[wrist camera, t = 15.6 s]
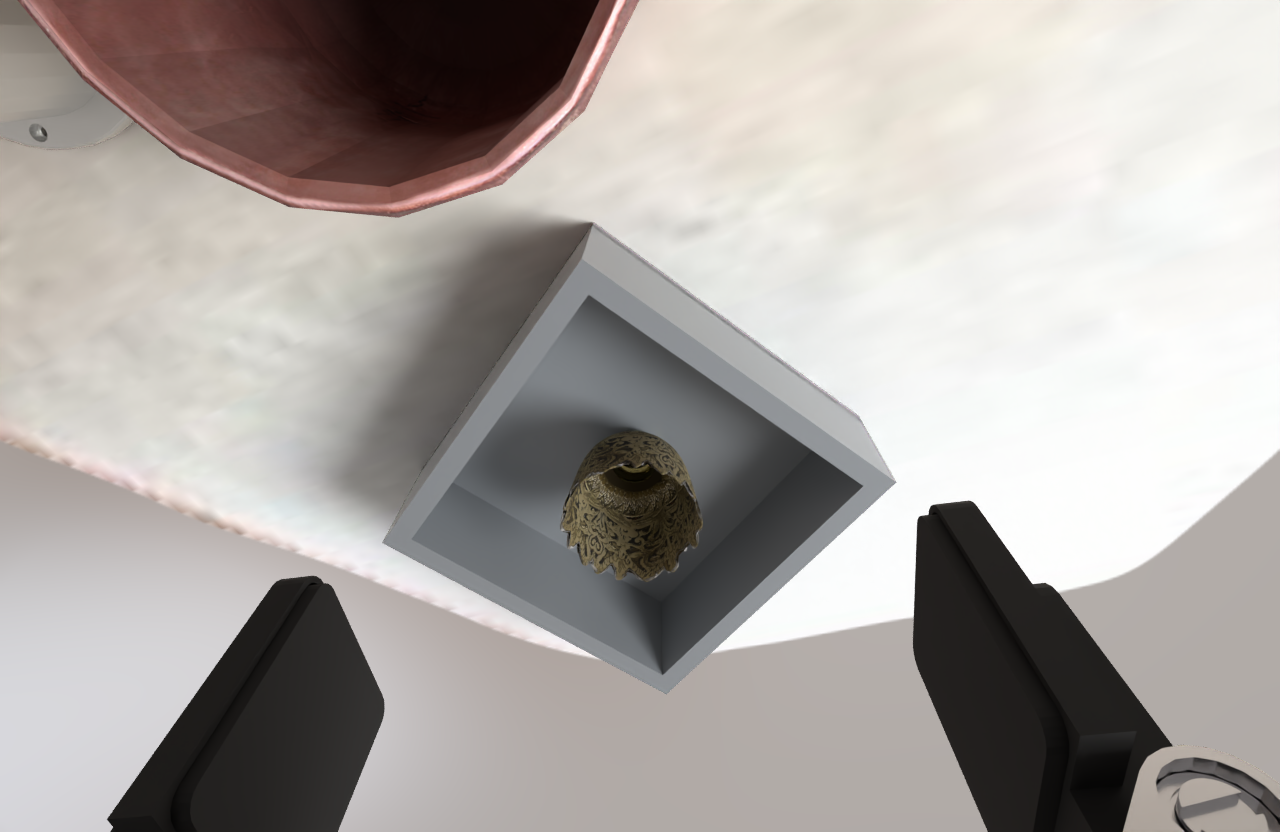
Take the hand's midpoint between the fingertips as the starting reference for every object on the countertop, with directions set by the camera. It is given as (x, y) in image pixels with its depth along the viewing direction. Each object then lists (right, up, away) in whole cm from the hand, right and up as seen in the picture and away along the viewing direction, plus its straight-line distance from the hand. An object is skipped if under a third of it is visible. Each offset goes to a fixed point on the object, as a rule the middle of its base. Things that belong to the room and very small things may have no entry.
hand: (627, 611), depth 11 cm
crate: (0, +1, +33) cm, 34 cm away
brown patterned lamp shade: (0, +1, +33) cm, 33 cm away
